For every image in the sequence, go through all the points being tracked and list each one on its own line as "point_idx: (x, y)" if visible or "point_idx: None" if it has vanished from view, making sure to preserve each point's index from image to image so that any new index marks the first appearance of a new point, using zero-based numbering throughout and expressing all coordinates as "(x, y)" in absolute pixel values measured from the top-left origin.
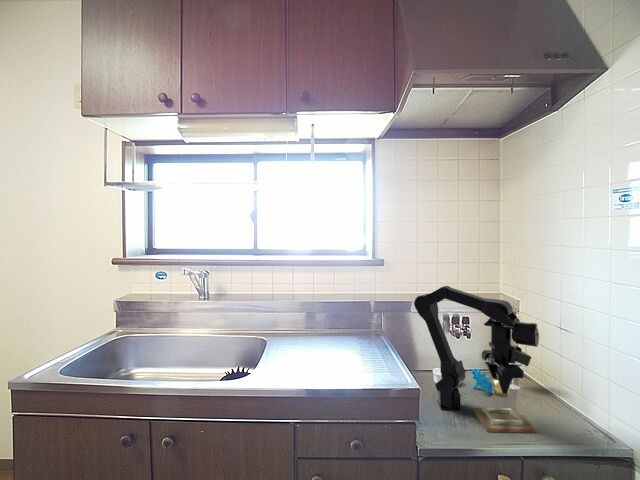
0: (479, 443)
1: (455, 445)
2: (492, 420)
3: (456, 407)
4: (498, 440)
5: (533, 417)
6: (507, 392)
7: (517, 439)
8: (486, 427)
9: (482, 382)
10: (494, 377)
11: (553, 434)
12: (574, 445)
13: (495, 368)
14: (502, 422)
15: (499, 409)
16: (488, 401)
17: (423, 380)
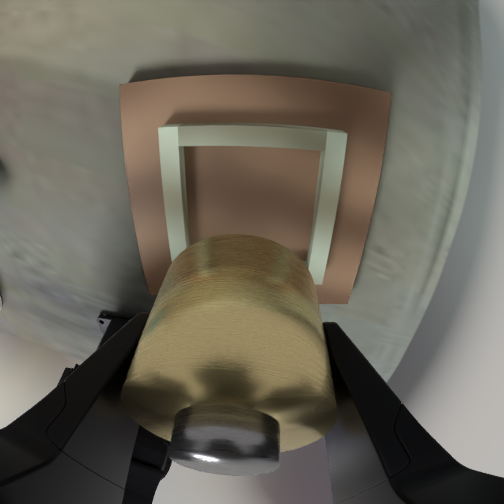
0: (402, 331)
1: (388, 373)
2: (316, 282)
3: None
4: (407, 279)
5: (201, 9)
6: (320, 313)
7: (421, 210)
8: (341, 303)
9: None
10: (133, 421)
11: (399, 19)
12: (474, 18)
13: (92, 500)
14: (329, 239)
15: (180, 199)
16: (47, 187)
17: (2, 329)
